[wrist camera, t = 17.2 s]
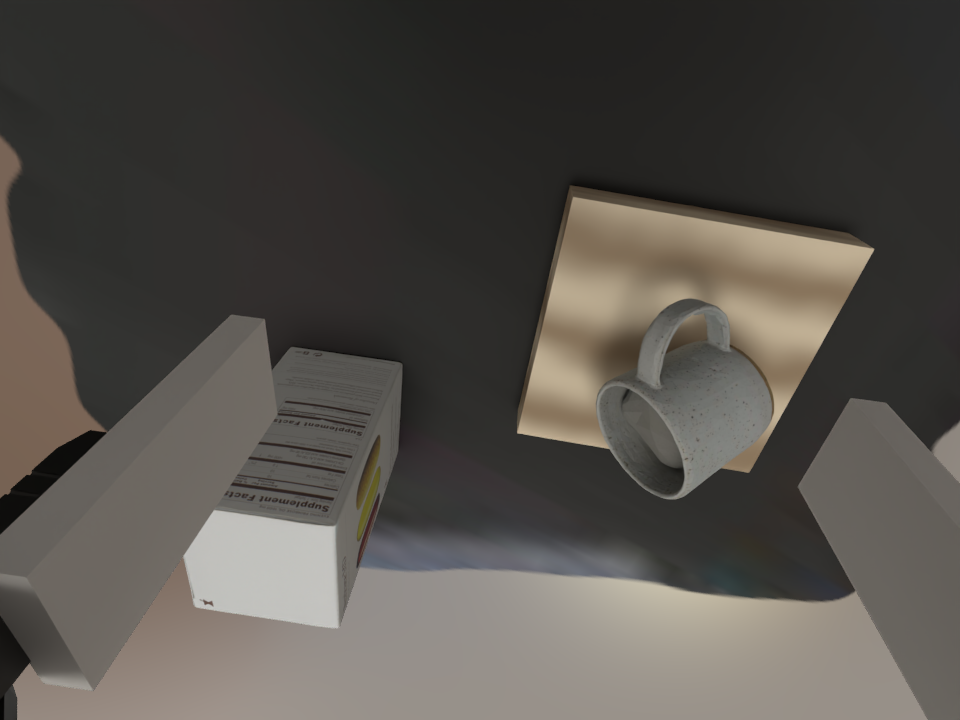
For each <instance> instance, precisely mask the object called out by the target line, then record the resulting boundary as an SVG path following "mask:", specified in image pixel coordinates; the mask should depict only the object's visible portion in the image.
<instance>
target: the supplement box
mask: <svg viewBox="0 0 960 720" xmlns="http://www.w3.org/2000/svg"><path fill="white" fill-rule="evenodd" d="M272 377H273V384H274V392H275V399H276V406H277V414H278V415H277V416H276V418H275V419H274V421H273V422H272V424H271V425H270V427H269V428H268V430H267V431H266V433H265V434H264V436H263V437H262V439H261V440H260V442H259V443H258V445H257V446H256V448H255V449H254V451H253V452H252V454H251V455H250V457H249V458H248V460H247V461H246V463H245V464H244V466H243V467H242V469H241V470H240V472H239V473H238V475H237V476H236V478H235V479H234V481H233V482H232V484H231V485H230V487H229V488H228V490H227V491H226V493H225V494H224V496H223V497H222V499H221V500H220V502H219V503H218V505H217V506H216V508H215V509H214V511H213V512H212V514H211V515H210V517H209V518H208V520H207V521H206V523H205V524H204V526H203V527H202V529H201V530H200V532H199V533H198V535H197V536H196V538H195V539H194V541H193V542H192V544H191V545H190V547H189V548H188V550H187V551H186V553H185V554H184V556H183V559H184V563H185V566H186V570H187V574H188V579H189V583H190V588H191V593H192V598H193V604H194V606H195V607H197V608H203V609H210V610H215V611H222V612H228V613H235V614H242V615H248V616H255V617H261V618H269V619H274V620H281V621H288V622H294V623H300V624H307V625H312V626H319V627H327V628H339V627H340V624H341V621H342V618H343V616H344V613H345V610H346V607H347V603H348V600H349V597H350V594H351V591H352V588H353V585H354V582H355V579H356V576H357V573H358V570H359V567H360V564H361V561H362V558H363V555H364V552H365V549H366V546H367V543H368V540H369V537H370V534H371V531H372V528H373V525H374V522H375V519H376V516H377V513H378V510H379V507H380V504H381V501H382V498H383V495H384V492H385V489H386V486H387V483H388V480H389V477H390V474H391V471H392V468H393V465H394V462H395V459H396V456H397V453H398V447H399V429H400V411H401V391H402V363H400V362H394V361H387V360H380V359H374V358H367V357H360V356H353V355H346V354H338V353H332V352H325V351H318V350H311V349H304V348H297V347H291V348H290V349H289V350H288V351H287V352H286V353H285V355H284V356H283V357H282V359H281V360H280V361H279V362H278V364H277V365H276V366H275V367H274V369H273V370H272Z"/></svg>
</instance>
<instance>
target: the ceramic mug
mask: <svg viewBox="0 0 960 720" xmlns="http://www.w3.org/2000/svg"><path fill="white" fill-rule="evenodd" d="M703 313H704V316H705V320H706V322H707V339H706V340H701V341H697V342H693V343H689V344H686V345H683V346H681V347H679V348H677V349H675V350H673V351H671V352H669V353H667V354H665V353H666V350H667V348H668V346H669V343H670V341H671V339H672V337H673V335H674V334H675V332H676V331H677V329H678V327H679V326H680V325H681V324H682V323H683V322H684V321H685V320H686V319H687V318H688V317H690V316H691V315H700V314H703ZM773 414H774V398H773V393H772V390H771V388H770V386H769V383H768V381H767V378H766V376H765V375H764V373H763V372H762V370H761V369H760V368H759V366H758V365H757V364H756V363H755V362H754V361H753V360H752V359H751V358H750V357H749V356H747V355H746V354H745V353H744V352H743V351H741V350H740V349H738V348H736V347H734V346H733V345H730V325H729V321H728V318H727V316H726V314H725V313H724V312H723V311H722V310H721V309H720V308H718V307H717V306H715V305H712V304H709V303H707V302H704V301H701V300H698V299H692V298H689V299H682V300H679V301H677V302H675V303H673V304H671V305H669V306H667V307H666V308H665V309H664V310H662V311H661V312H660V313H659V314H658V316H657V317H656V318H655V319H654V320H653V322H652V323H651V325H650V326H649V328H648V330H647V332H646V334H645V336H644V338H643V340H642V344H641V347H640V352H639V358H638V364H637V367H636V368H634V369H632V370H630V371H628V372H626V373H624V374H622V375H619V376H617V377H615V378H613V379H611V380H609V381H607V382H606V383H605V384H604V385H603V386H602V387H601V389H600V390H599V392H598V395H597V399H596V415H597V419H598V422H599V426H600V429H601V432H602V435H603V437H604V440H605V441H606V443H607V445H608V446H609V448H610V450H611V452H612V453H613V455H614V456H615V458H616V459H617V461H618V462H619V463H620V465H621V466H622V467H623V469H624V470H625V471H626V472H627V473H628V474H629V475H630V476H631V477H632V478H633V479H634V480H635V481H636V482H637V483H638V484H639V485H641V486H642V487H643V488H644V489H646V490H647V491H649V492H651V493H653V494H654V495H657V496H659V497H661V498H665V499H678V498H681V497H684V496H685V495H686V494H688V493H689V492H690V491H692V490H693V489H694V488H696V487H697V486H698V485H699V484H701V483H702V482H703V481H704V480H706V479H707V478H708V477H710V476H711V475H712V474H713V473H715V472H716V471H717V470H719V469H720V468H721V467H723V466H724V465H725V464H727V463H728V462H729V461H731V460H732V459H733V458H735V457H736V456H738V455H739V454H740V453H742V452H743V451H745V450H746V449H747V448H749V447H750V446H751V445H753V444H754V443H755V442H756V441H757V440H758V439H759V437H760V436H761V435H762V434H763V433H764V432H765V430H766V429H767V427H768V426H769V424H770V422H771V420H772V417H773Z"/></svg>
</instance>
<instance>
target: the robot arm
mask: <svg viewBox="0 0 960 720" xmlns="http://www.w3.org/2000/svg"><path fill="white" fill-rule="evenodd" d="M277 415H278V414H277V406H276V399H275V392H274V384H273V377H272V370H271V362H270V355H269V348H268V340H267V333H266V326H265V319H259V318H252V317H245V316H237V315H231V316H229V317H228V318H227V319H226V320H225V321H224V322H223V323H222V324H221V325H220V326H219V327H218V328H217V329H216V330H215V331H214V332H213V333H212V334H211V335H210V336H208V337H207V338H206V339H205V340H204V341H203V342H202V343H201V344H200V345H199V346H198V347H197V348H196V349H195V350H194V351H193V352H192V353H191V354H190V355H189V356H187V357H186V358H185V359H184V360H183V361H182V362H181V363H180V364H179V365H178V366H177V367H176V368H175V369H174V370H173V371H172V372H171V373H170V374H169V375H168V376H166V377H165V378H164V379H163V380H162V381H161V382H160V383H159V384H158V385H157V386H156V387H155V388H154V389H153V390H152V391H151V392H150V393H149V394H148V395H146V396H145V397H144V398H143V399H142V400H141V401H140V402H139V403H138V404H137V405H136V406H135V407H134V408H133V409H132V410H131V411H130V412H129V413H128V414H127V415H125V416H124V417H123V418H122V419H121V420H120V421H119V422H118V423H117V424H116V425H115V426H114V427H113V428H112V429H111V430H110V431H109V432H108V433H106V432H99V431H92V430H90V431H88V432H86V433H84V434H82V435H80V436H79V437H77V438H75V439H73V440H72V441H69V442H67V443H66V444H64V445H62V446H60V447H58V448H57V449H56V450H54V451H53V452H52V453H51V454H50V455H49V456H48V457H47V458H45V459H44V460H43V461H42V462H41V463H40V464H39V465H38V466H36V467H35V468H34V469H33V470H32V474H31V475H26V476H25V477H24V478H23V479H22V480H21V481H19V482H18V483H17V484H16V485H15V486H14V487H13V488H11V492H10V494H8V495H7V494H5V495H4V496H2V497H1V498H0V720H17V697H16V694H15V690H14V687H13V685H12V684H13V683H14V682H15V681H16V679H17V678H18V677H19V676H20V674H21V673H22V672H23V670H24V669H25V668H26V667H27V665H28V664H29V663H30V664H31V666H32V667H33V669H34V670H35V672H36V673H37V675H38V676H39V677H40V679H41V680H42V682H43V683H44V684H51V685H57V686H63V687H70V688H76V689H83V690H89V691H94V690H95V688H96V687H97V685H98V684H99V682H100V681H101V679H102V678H103V676H104V675H105V673H106V672H107V670H108V669H109V667H110V666H111V664H112V662H113V661H114V659H115V658H116V657H117V655H118V653H119V652H120V651H121V649H122V647H123V646H124V645H125V643H126V642H127V640H128V639H129V637H130V636H131V634H132V633H133V631H134V630H135V628H136V627H137V625H138V624H139V622H140V620H141V619H142V618H143V616H144V615H145V613H146V611H147V610H148V609H149V607H150V605H151V604H152V602H153V601H154V599H155V598H156V596H157V595H158V593H159V592H160V590H161V589H162V587H163V586H164V584H165V583H166V581H167V580H168V578H169V577H170V575H171V574H172V572H173V571H174V569H175V568H176V566H177V565H178V563H179V562H180V560H181V559H182V557H183V556H184V554H185V553H186V551H187V550H188V548H189V547H190V545H191V544H192V542H193V541H194V539H195V538H196V536H197V535H198V533H199V532H200V530H201V529H202V527H203V526H204V524H205V523H206V521H207V520H208V518H209V517H210V515H211V514H212V512H213V511H214V509H215V508H216V506H217V505H218V503H219V502H220V500H221V499H222V497H223V496H224V494H225V493H226V491H227V490H228V488H229V487H230V485H231V484H232V482H233V481H234V479H235V478H236V476H237V475H238V473H239V472H240V470H241V469H242V467H243V466H244V464H245V463H246V461H247V460H248V458H249V457H250V455H251V454H252V452H253V451H254V449H255V448H256V446H257V445H258V443H259V442H260V440H261V439H262V437H263V436H264V434H265V433H266V431H267V430H268V428H269V427H270V425H271V424H272V422H273V421H274V419H275V418H276V416H277ZM798 488H799V490H800V492H801V493H802V495H803V497H804V499H805V501H806V502H807V504H808V506H809V508H810V510H811V511H812V513H813V515H814V517H815V519H816V520H817V522H818V524H819V526H820V528H821V529H822V531H823V533H824V535H825V536H826V538H827V540H828V542H829V544H830V545H831V547H832V549H833V551H834V553H835V554H836V556H837V558H838V560H839V562H840V563H841V565H842V567H843V569H844V571H845V572H846V574H847V576H848V578H849V579H850V581H851V583H852V585H853V587H854V588H855V590H856V592H857V594H858V596H859V597H860V599H861V601H862V603H863V604H864V606H865V608H866V610H867V612H868V613H869V615H870V617H871V619H872V621H873V623H874V624H875V626H876V628H877V630H878V631H879V633H880V635H881V637H882V638H883V640H884V642H885V644H886V646H887V648H888V649H889V651H890V653H891V655H892V656H893V658H894V660H895V662H896V664H897V666H898V667H899V669H900V671H901V672H902V674H903V676H904V678H905V680H906V682H907V683H908V685H909V687H910V689H911V690H912V692H913V694H914V696H915V698H916V699H917V701H918V703H919V705H920V706H921V708H922V710H923V712H924V714H925V716H926V717H927V719H928V720H960V483H959V482H958V481H957V480H956V479H955V478H954V477H953V476H952V475H951V473H950V472H949V471H948V470H947V469H946V468H945V467H944V466H943V465H942V464H941V463H940V462H939V460H938V459H937V458H936V457H935V456H934V455H933V454H932V453H931V452H930V450H929V449H928V448H927V447H926V446H925V445H924V444H923V443H922V442H921V441H920V440H919V438H918V437H917V436H916V435H915V434H914V433H913V432H912V431H911V430H910V429H909V427H908V426H907V425H906V424H905V423H904V422H903V421H902V420H901V419H900V418H899V417H898V415H897V414H896V413H895V412H894V411H893V410H892V409H891V408H890V407H889V406H888V404H887V403H884V402H876V401H869V400H861V399H854V398H851V399H850V400H849V402H848V404H847V405H846V407H845V409H844V410H843V412H842V414H841V415H840V417H839V419H838V420H837V422H836V424H835V425H834V427H833V429H832V430H831V432H830V434H829V435H828V437H827V439H826V440H825V442H824V444H823V445H822V447H821V449H820V450H819V452H818V454H817V455H816V457H815V459H814V460H813V462H812V464H811V465H810V467H809V469H808V470H807V472H806V474H805V475H804V477H803V479H802V480H801V482H800V484H799V485H798Z"/></svg>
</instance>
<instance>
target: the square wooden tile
mask: <svg viewBox="0 0 960 720" xmlns="http://www.w3.org/2000/svg"><path fill="white" fill-rule="evenodd" d="M873 251H874V248H872V247H870V246H869V245H867V244H866V243H864V242H862V241H861V240H859V239H857V238H856V237H854V236H852V235H851V234H849V233H845V232H839V231H833V230H827V229H822V228H816V227H810V226H804V225H798V224H793V223H787V222H781V221H775V220H769V219H764V218H758V217H752V216H746V215H740V214H735V213H729V212H723V211H717V210H711V209H706V208H700V207H694V206H688V205H683V204H677V203H671V202H665V201H659V200H654V199H648V198H642V197H636V196H630V195H625V194H619V193H613V192H607V191H601V190H596V189H590V188H584V187H578V186H572V185H570V187H569V192H568V196H567V200H566V205H565V209H564V213H563V218H562V222H561V226H560V231H559V235H558V239H557V244H556V248H555V252H554V257H553V261H552V265H551V269H550V274H549V278H548V282H547V287H546V291H545V295H544V300H543V304H542V308H541V313H540V317H539V321H538V326H537V330H536V334H535V339H534V343H533V347H532V352H531V356H530V360H529V365H528V369H527V373H526V378H525V382H524V386H523V390H522V395H521V399H520V403H519V408H518V424H517V433H519V434H525V435H531V436H537V437H543V438H549V439H555V440H561V441H566V442H572V443H578V444H584V445H590V446H596V447H602V448H607V449H610V448H609V446H608V445H607V443H606V441H605V440H604V437H603V435H602V432H601V429H600V426H599V422H598V419H597V415H596V399H597V395H598V392H599V390H600V389H601V387H602V386H603V385H604V384H605V383H606V382H607V381H609V380H611V379H613V378H615V377H617V376H619V375H622V374H624V373H626V372H628V371H630V370H632V369H634V368H636V367H637V364H638V358H639V352H640V347H641V344H642V340H643V338H644V336H645V334H646V332H647V330H648V328H649V326H650V325H651V323H652V322H653V320H654V319H655V318H656V317H657V316H658V314H659V313H660V312H661V311H662V310H664V309H665V308H666V307H667V306H669V305H671V304H673V303H675V302H677V301H679V300H682V299H689V298H692V299H698V300H701V301H704V302H707V303H709V304H712V305H715V306H717V307H718V308H720V309H721V310H722V311H723V312H724V313H725V314H726V316H727V318H728V321H729V325H730V345H733V346H734V347H736V348H738V349H740V350H741V351H743V352H744V353H745V354H746V355H747V356H749V357H750V358H751V359H752V360H753V361H754V362H755V363H756V364H757V365H758V366H759V368H760V369H761V370H762V372H763V373H764V375H765V376H766V378H767V381H768V383H769V386H770V388H771V390H772V393H773V398H774V414H773V417H772V420H771V422H770V424H769V426H768V427H767V429H766V430H765V432H764V433H763V434H762V435H761V436H760V437H759V439H758V440H757V441H756V442H755V443H754V444H753V445H751V446H750V447H749V448H747V449H746V450H745V451H743V452H742V453H740V454H739V455H738V456H736V457H735V458H733V459H732V460H731V461H729V462H728V463H727V464H725V465H724V466H723V467H721V468H725V469H731V470H737V471H742V472H748V473H749V472H750V470H751V468H752V467H753V465H754V463H755V461H756V460H757V458H758V456H759V454H760V452H761V451H762V449H763V447H764V445H765V444H766V442H767V440H768V438H769V436H770V435H771V433H772V431H773V429H774V427H775V426H776V424H777V422H778V420H779V419H780V417H781V415H782V413H783V411H784V410H785V408H786V406H787V404H788V402H789V401H790V399H791V397H792V395H793V394H794V392H795V390H796V388H797V386H798V385H799V383H800V381H801V379H802V378H803V376H804V374H805V372H806V370H807V369H808V367H809V365H810V363H811V361H812V360H813V358H814V356H815V354H816V353H817V351H818V349H819V347H820V345H821V344H822V342H823V340H824V338H825V336H826V335H827V333H828V331H829V329H830V328H831V326H832V324H833V322H834V320H835V319H836V317H837V315H838V313H839V311H840V310H841V308H842V306H843V304H844V303H845V301H846V299H847V297H848V295H849V294H850V292H851V290H852V288H853V287H854V285H855V283H856V281H857V279H858V278H859V276H860V274H861V272H862V270H863V269H864V267H865V265H866V263H867V262H868V260H869V258H870V256H871V254H872V253H873ZM706 339H707V322H706V320H705V316H704V313H703V314H700V315H691V316H690V317H688V318H687V319H686V320H685V321H684V322H683V323H682V324H681V325H680V326H679V327H678V329H677V331H676V332H675V334H674V335H673V337H672V339H671V341H670V343H669V346H668V348H667V350H666V353H665V354H667V353H669V352H671V351H673V350H675V349H677V348H679V347H681V346H683V345H686V344H689V343H693V342H697V341H701V340H706Z"/></svg>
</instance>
